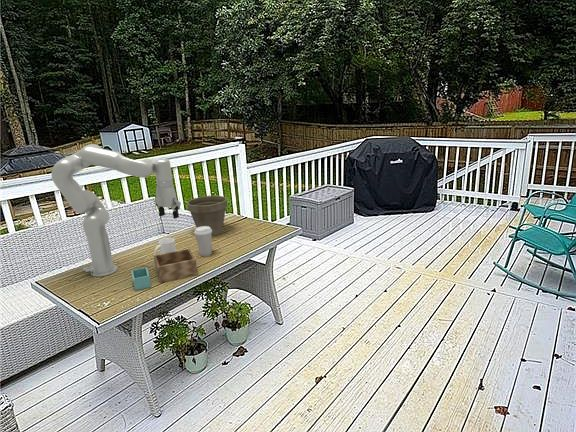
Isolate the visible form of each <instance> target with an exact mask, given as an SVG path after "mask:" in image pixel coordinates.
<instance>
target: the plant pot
mask: <svg viewBox="0 0 576 432" xmlns="http://www.w3.org/2000/svg"><path fill="white" fill-rule="evenodd" d="M186 206H187V210H188V211H189V212H190V215H191V217H192V219H193V222H194V225H195V229H196V228H198V227H201V226H209V227H210V228H211V229H212V232H211V237H214V236H217V235H219V234H221V233H222V232H223V228H224V224H225V218H226V217H225V216H226V209H227V207H228V198H227V197H225V196H223V195H221V196H220V195H207V196H206V195H205V196H200V197H194V198H191V199H189V200H188V201H187V202H186Z"/></svg>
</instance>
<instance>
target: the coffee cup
mask: <svg viewBox="0 0 576 432" xmlns="http://www.w3.org/2000/svg"><path fill="white" fill-rule="evenodd" d="M211 232H212V229H211V228H210V227H209V226H201V227H198V228H196V227H195V230H194V235H195V238H196V241H197V246H198V253H199V255H200V256H202V257H207V256H211V255H212V253H213V252H212V251H213V249H212V246H213V245H212V241H213V240H212V236H211Z"/></svg>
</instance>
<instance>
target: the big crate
mask: <svg viewBox="0 0 576 432" xmlns="http://www.w3.org/2000/svg"><path fill="white" fill-rule="evenodd" d="M153 261H154V266H155V272H156V274H157V277H158V282H159V283H160V284H161V283H164V282H169V281H174V280H178V279H182V278H183V279H184V278H187V277H191V276H195V275H198V266H197V259H196V258H195V256H194V254H193V252H192V251H191V249H190V248H187V249H186V248H185V249H181V250H176V251H175V252H170V253H165V254H161V253H160V254H158V255H155V254H154V255H153Z"/></svg>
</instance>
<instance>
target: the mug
mask: <svg viewBox="0 0 576 432" xmlns="http://www.w3.org/2000/svg"><path fill="white" fill-rule="evenodd" d="M158 250H159V252H160V254H165V253H170V252H175V251H177V248H176V240H175V238H172V237H165V238H161V239H160V240H159V241H158V245H157V246H156V247H155V248H154V256H155V255H159V254H158Z"/></svg>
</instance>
